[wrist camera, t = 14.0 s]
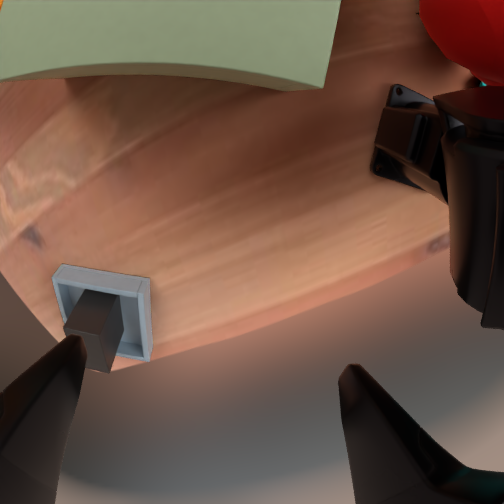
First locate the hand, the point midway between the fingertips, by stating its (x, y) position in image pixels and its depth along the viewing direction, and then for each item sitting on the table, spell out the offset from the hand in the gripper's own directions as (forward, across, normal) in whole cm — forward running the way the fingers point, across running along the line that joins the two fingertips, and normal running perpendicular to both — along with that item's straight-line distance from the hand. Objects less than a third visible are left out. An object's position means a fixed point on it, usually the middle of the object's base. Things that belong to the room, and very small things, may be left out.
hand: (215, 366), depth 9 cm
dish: (+12, +9, +10) cm, 18 cm away
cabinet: (+12, +5, -15) cm, 20 cm away
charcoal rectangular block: (+12, +9, +10) cm, 17 cm away
